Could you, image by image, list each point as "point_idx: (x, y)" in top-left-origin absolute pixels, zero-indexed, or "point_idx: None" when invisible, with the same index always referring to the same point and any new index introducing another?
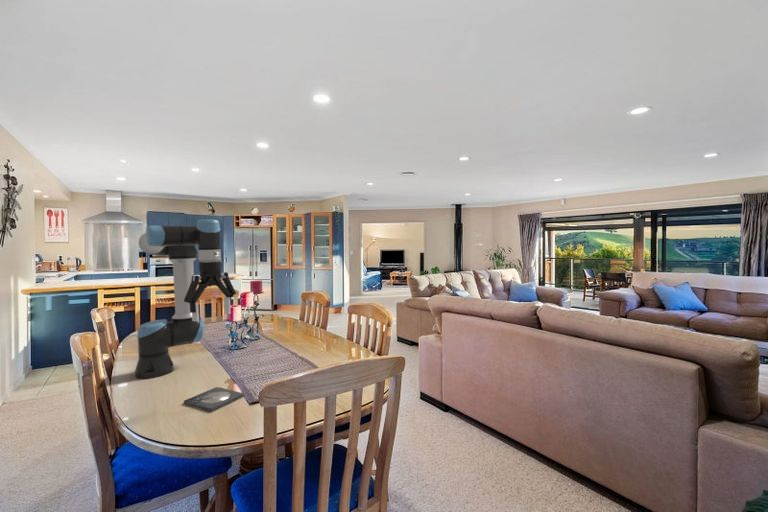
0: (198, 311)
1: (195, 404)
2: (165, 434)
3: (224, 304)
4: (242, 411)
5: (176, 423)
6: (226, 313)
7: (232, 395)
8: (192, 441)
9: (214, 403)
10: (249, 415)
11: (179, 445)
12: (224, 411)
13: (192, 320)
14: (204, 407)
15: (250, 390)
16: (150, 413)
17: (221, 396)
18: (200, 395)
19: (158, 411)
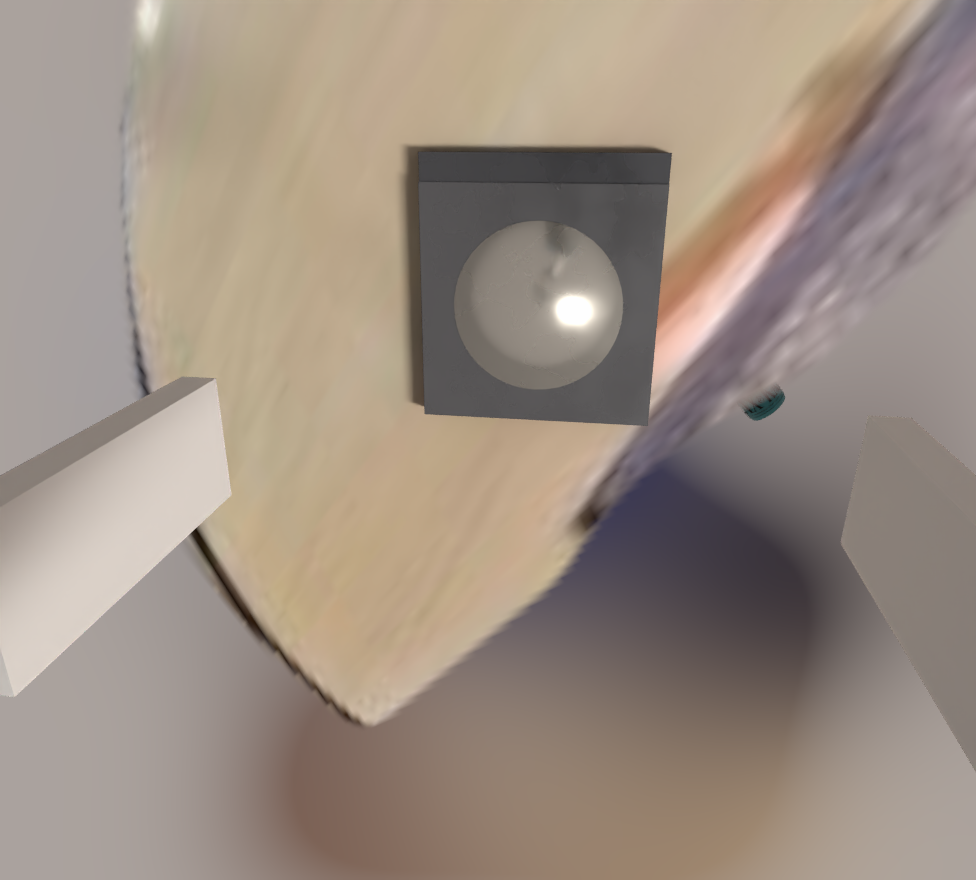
0: (136, 580)
1: (422, 273)
2: None
3: (952, 518)
4: (503, 539)
5: (271, 346)
6: (858, 479)
7: (598, 383)
8: (230, 543)
9: (474, 373)
10: (487, 594)
11: None
12: (463, 460)
13: (179, 382)
14: (424, 353)
15: (737, 386)
16: (252, 89)
17: (557, 335)
18: (515, 187)
19: (289, 108)
